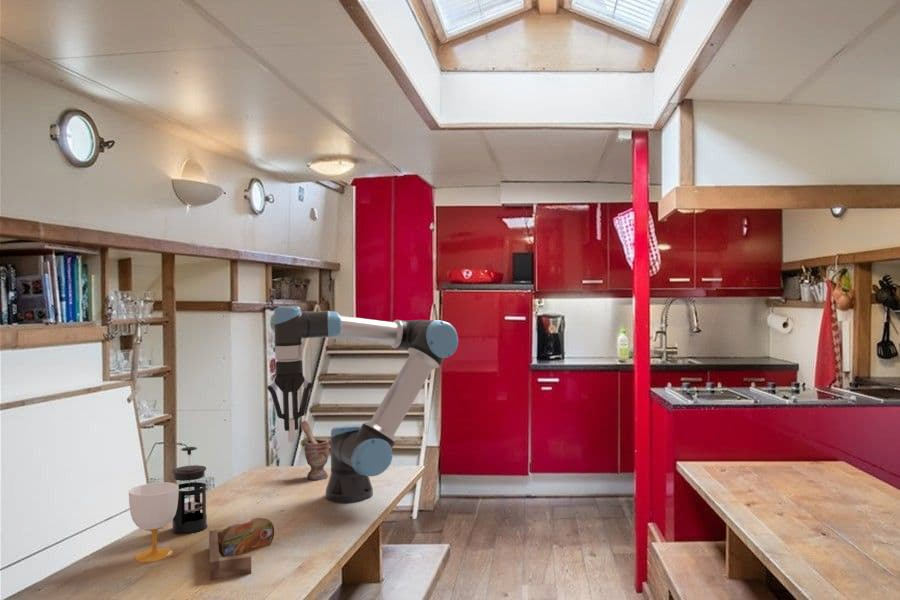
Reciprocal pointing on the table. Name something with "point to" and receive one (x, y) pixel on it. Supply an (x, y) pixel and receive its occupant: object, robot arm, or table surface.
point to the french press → (189, 513)
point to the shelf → (226, 560)
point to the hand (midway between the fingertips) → (291, 441)
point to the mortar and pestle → (315, 454)
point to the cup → (153, 513)
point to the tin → (246, 537)
